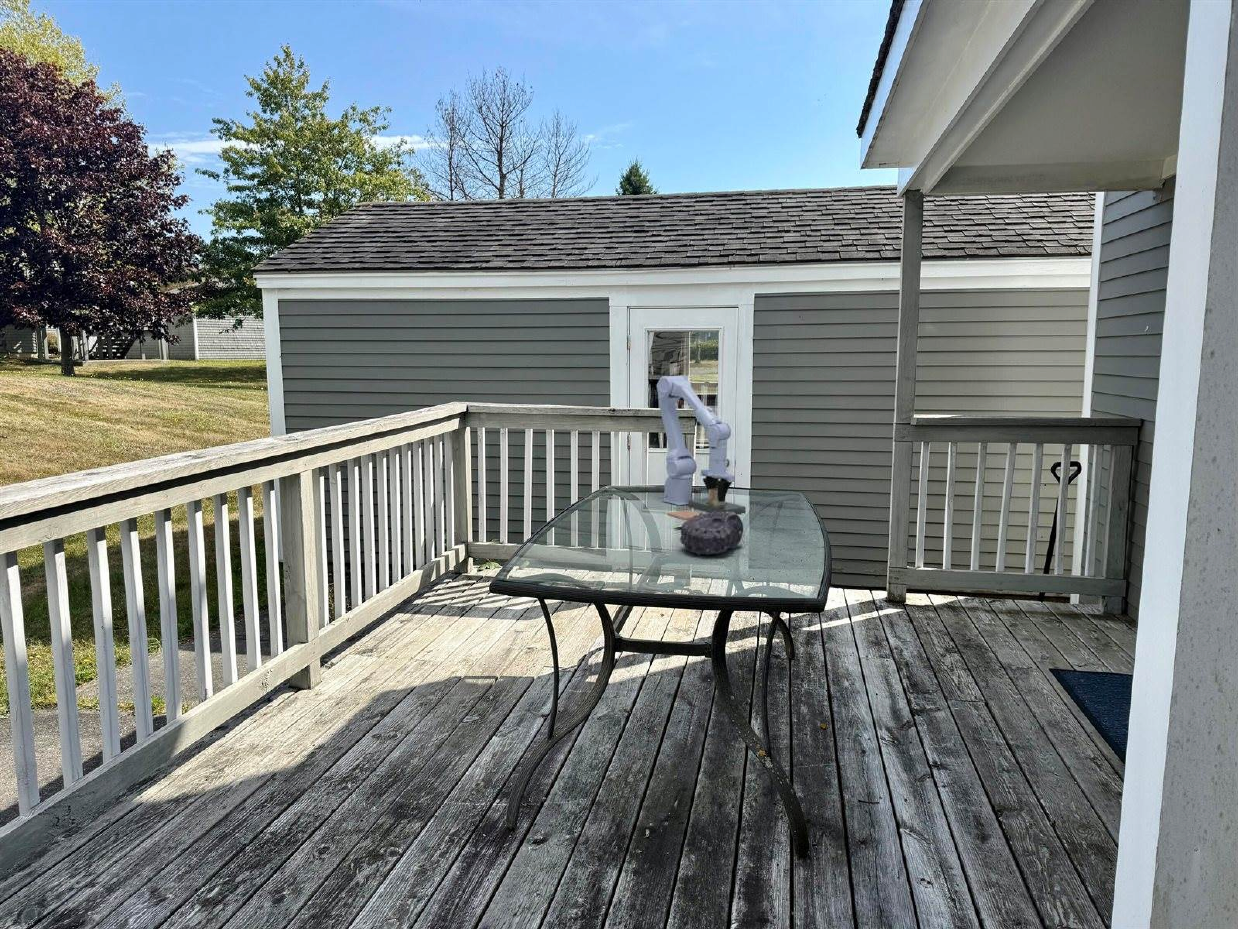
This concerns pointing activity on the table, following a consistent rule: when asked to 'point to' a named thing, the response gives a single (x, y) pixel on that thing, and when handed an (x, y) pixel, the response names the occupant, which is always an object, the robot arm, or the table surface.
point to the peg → (714, 497)
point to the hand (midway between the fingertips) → (716, 500)
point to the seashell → (712, 532)
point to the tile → (684, 514)
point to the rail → (704, 506)
